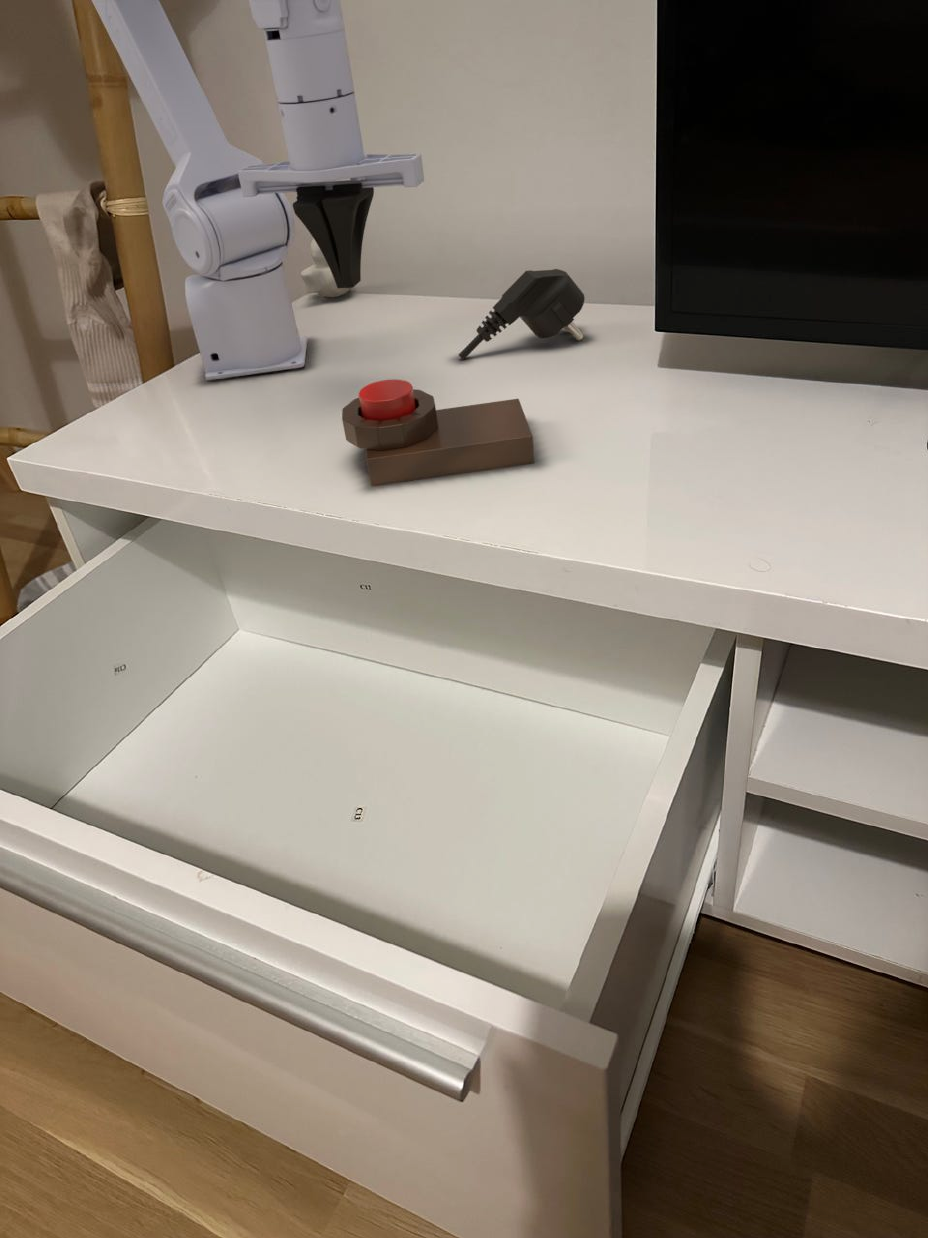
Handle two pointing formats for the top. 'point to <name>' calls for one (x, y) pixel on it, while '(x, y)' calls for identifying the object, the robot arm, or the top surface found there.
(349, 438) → the switch box
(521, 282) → the power plug
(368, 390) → the light button
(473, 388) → the top surface
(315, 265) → the rubber duck
